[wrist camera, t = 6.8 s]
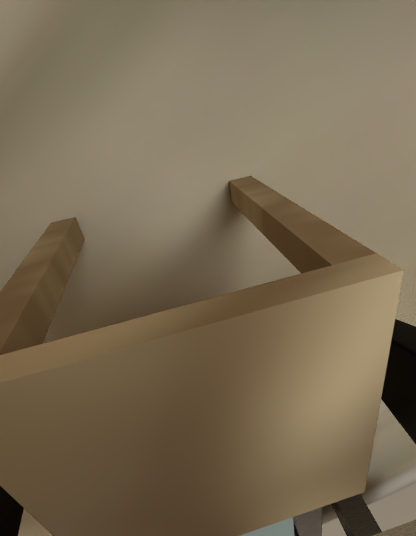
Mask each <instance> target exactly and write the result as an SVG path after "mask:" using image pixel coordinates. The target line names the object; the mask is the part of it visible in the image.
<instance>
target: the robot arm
mask: <svg viewBox="0 0 416 536" xmlns="http://www.w3.org/2000/svg"><path fill="white" fill-rule="evenodd" d="M381 399H382V400H383V402H384V403H385V404H386V406H387V407H388V408H389V410H390V411H391V412H392V414H393V415H394V416H395V418H396V419H397V420H398V422H399V423H400V424H401V425H402V427H403V428H404V429H405V431H406V432H407V433H408V435H409V436H410V437H411V439H412V440H413V441H414V443H415V444H416V327H415V326H412V325H410V324H407V323H405V322H402V321H399V320H397V319H395V323H394V328H393V334H392V340H391V345H390V351H389V357H388V362H387V368H386V374H385V379H384V385H383V391H382V396H381ZM23 509H24V508H23V507H22V506H21V505H20V504H19V503H18V502H17V501H16V500H15V499H14V498H13V497H12V496H11V495H10V494H9V493H8V492H6V491H5V490H4V489H3V488H2V487H1V486H0V536H18V532H19V528H20V523H21V518H22V514H23Z"/></svg>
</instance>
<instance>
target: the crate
mask: <svg viewBox="0 0 416 536" xmlns="http://www.w3.org/2000/svg"><path fill="white" fill-rule="evenodd" d="M229 183H230V190H231V197H232V203H233V204H234V205H235V206H236V207H237V208H238V209H239V210H240V211H241V212H242V213H243V214H244V215H245V216H246V217H247V218H248V219H249V220H250V221H251V222H252V223H253V224H254V225H255V227H256V228H257V229H258V230H259V231H260V232H261V233H262V234H263V235H264V236H265V237H266V238H267V239H268V240H269V241H270V242H271V243H272V244H273V245H274V246H275V247H276V248H277V249H278V250H279V251H280V252H281V253H282V254H283V255H284V256H285V257H286V258H287V259H288V260H289V261H290V262H291V263H292V264H293V265H294V266H295V267H296V268H297V269H298V270H299V271H300V272H301V273H302V274H298V275H295V276H291V277H287V278H284V279H280V280H276V281H272V282H269V283H265V284H261V285H258V286H254V287H250V288H247V289H243V290H239V291H236V292H232V293H228V294H224V295H221V296H217V297H213V298H210V299H206V300H202V301H199V302H195V303H191V304H188V305H184V306H180V307H176V308H173V309H169V310H165V311H162V312H158V313H154V314H151V315H147V316H143V317H140V318H136V319H132V320H128V321H125V322H121V323H117V324H114V325H110V326H106V327H103V328H99V329H95V330H92V331H88V332H84V333H80V334H77V335H73V336H69V337H66V338H62V339H58V340H55V341H51V342H47V343H43V341H44V338H45V336H46V333H47V331H48V328H49V326H50V323H51V321H52V318H53V316H54V313H55V311H56V308H57V306H58V303H59V301H60V298H61V296H62V293H63V291H64V288H65V286H66V283H67V281H68V278H69V276H70V273H71V271H72V268H73V266H74V263H75V261H76V258H77V256H78V253H79V251H80V248H81V246H82V244H83V241H84V237H83V234H82V232H81V229H80V227H79V225H78V222H77V220H76V218H71V219H66V220H62V221H58V222H54V223H51V224H50V225H49V227H48V228H47V230H46V231H45V232H44V234H43V235H42V236H41V238H40V239H39V240H38V242H37V243H36V244H35V246H34V247H33V248H32V250H31V251H30V253H29V254H28V255H27V257H26V258H25V259H24V261H23V262H22V263H21V265H20V266H19V267H18V269H17V270H16V271H15V273H14V274H13V276H12V277H11V278H10V280H9V281H8V282H7V284H6V285H5V286H4V288H3V289H2V290H1V292H0V486H1V487H2V488H3V489H4V490H5V491H6V492H8V493H9V494H10V495H11V496H12V497H13V498H14V499H15V500H16V501H17V502H18V503H19V504H20V505H21V506H22V507H23V508H25V509H26V510H27V511H28V512H29V513H30V514H31V515H32V516H33V517H34V518H35V519H36V520H37V521H38V522H39V523H40V524H42V525H43V526H44V527H45V528H46V529H47V530H48V531H49V532H50V533H51V534H52V535H53V536H240V535H243V534H246V533H249V532H251V531H254V530H257V529H260V528H263V527H266V526H269V525H272V524H274V523H277V522H280V521H283V520H286V519H289V518H292V517H295V516H297V515H300V514H303V513H306V512H309V511H312V510H315V509H318V508H320V507H323V506H326V505H329V504H332V503H335V502H338V501H340V500H343V499H346V498H349V497H352V496H355V495H358V494H361V493H363V492H365V487H366V482H367V476H368V470H369V465H370V459H371V453H372V448H373V442H374V436H375V430H376V425H377V419H378V413H379V408H380V402H381V396H382V391H383V385H384V379H385V374H386V368H387V362H388V357H389V351H390V345H391V340H392V334H393V328H394V323H395V317H396V311H397V306H398V300H399V294H400V289H401V283H402V277H403V272H404V270H403V269H401V268H400V267H398V266H396V265H395V264H393V263H391V262H390V261H388V260H387V259H385V258H383V257H382V256H380V255H378V254H377V253H375V252H374V251H372V250H370V249H369V248H367V247H365V246H364V245H362V244H361V243H359V242H357V241H356V240H354V239H352V238H351V237H349V236H348V235H346V234H344V233H343V232H341V231H339V230H338V229H336V228H334V227H333V226H331V225H330V224H328V223H326V222H325V221H323V220H321V219H320V218H318V217H317V216H315V215H313V214H312V213H310V212H308V211H307V210H305V209H304V208H302V207H300V206H299V205H297V204H295V203H294V202H292V201H291V200H289V199H287V198H286V197H284V196H282V195H281V194H279V193H278V192H276V191H274V190H273V189H271V188H269V187H268V186H266V185H265V184H263V183H261V182H260V181H258V180H256V179H255V178H253V177H252V176H249V177H245V178H240V179H236V180H232V181H229ZM42 343H43V344H42Z"/></svg>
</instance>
